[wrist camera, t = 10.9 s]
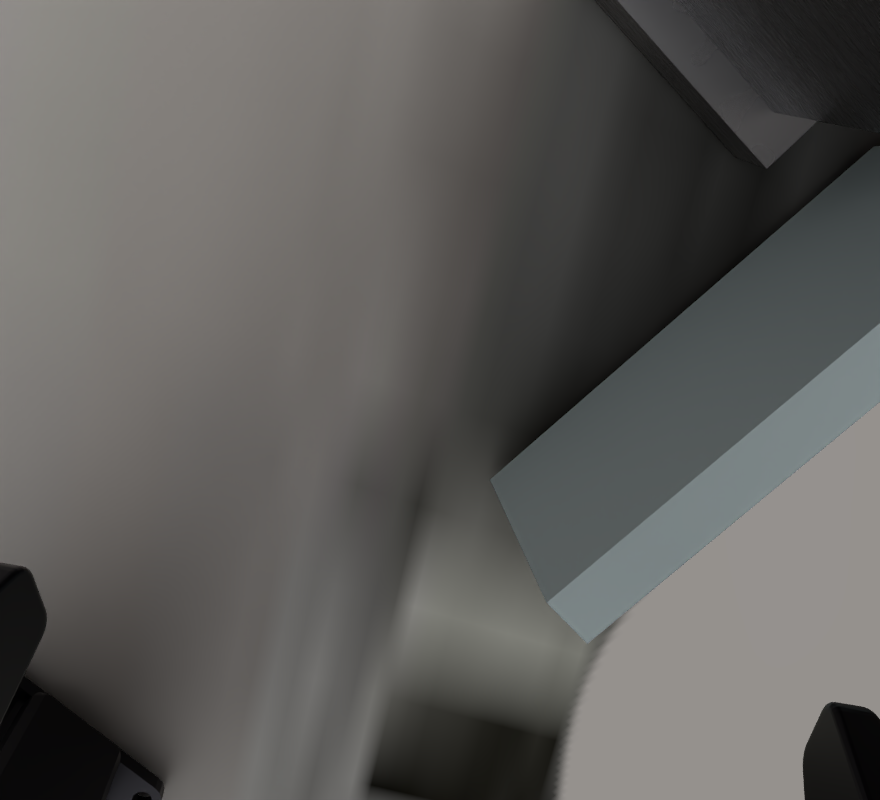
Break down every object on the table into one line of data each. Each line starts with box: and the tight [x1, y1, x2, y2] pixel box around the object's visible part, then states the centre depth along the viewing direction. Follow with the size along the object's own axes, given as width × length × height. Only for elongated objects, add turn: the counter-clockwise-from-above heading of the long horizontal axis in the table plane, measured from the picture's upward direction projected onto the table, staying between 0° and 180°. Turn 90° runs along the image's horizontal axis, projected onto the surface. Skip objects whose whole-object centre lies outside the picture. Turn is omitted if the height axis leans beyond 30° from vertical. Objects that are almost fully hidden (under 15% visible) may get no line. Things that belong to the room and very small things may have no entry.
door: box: [490, 146, 880, 644], centre depth 17 cm, size 12×1×6 cm, turn 132°
